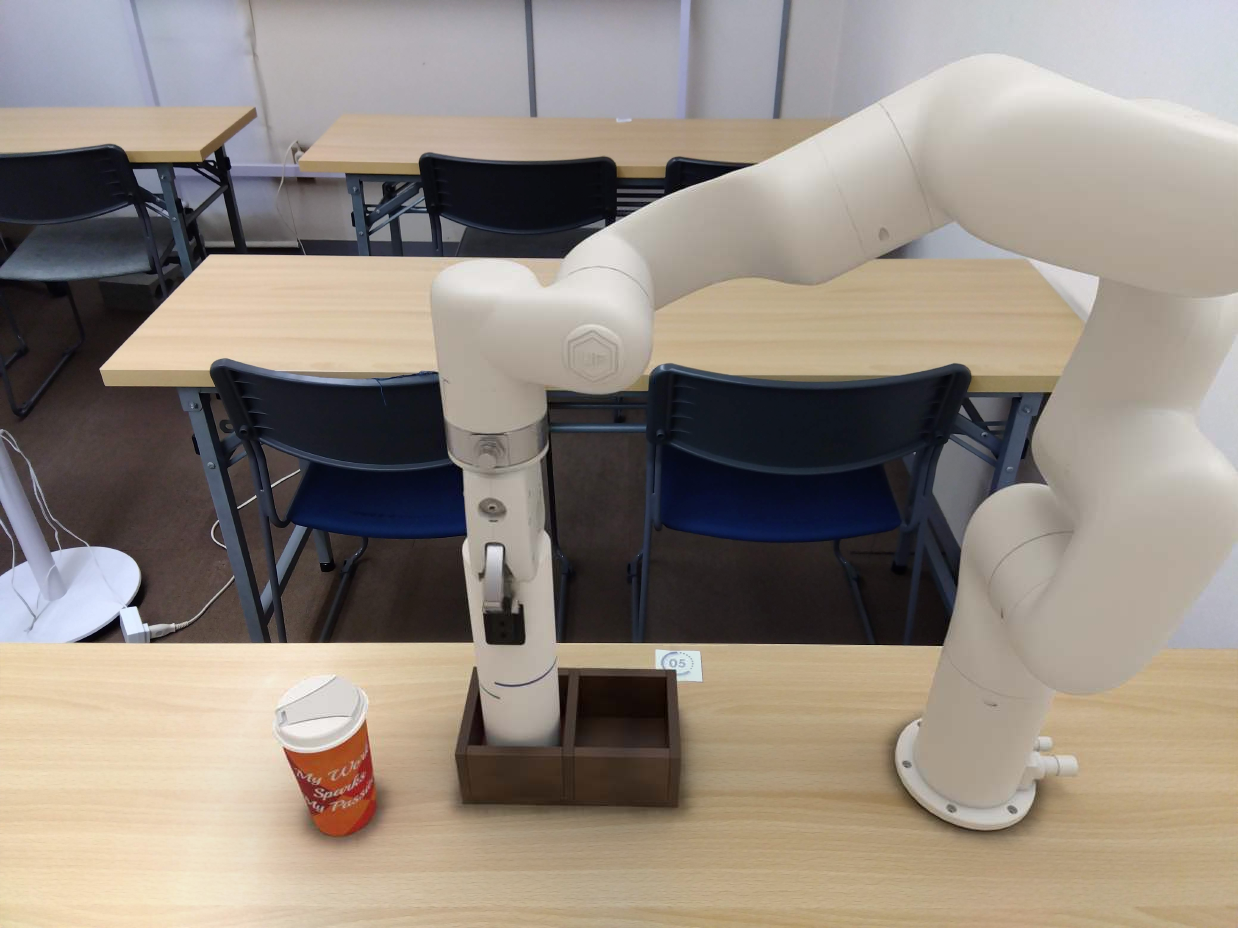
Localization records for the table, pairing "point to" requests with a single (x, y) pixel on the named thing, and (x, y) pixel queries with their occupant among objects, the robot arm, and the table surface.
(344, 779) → the paper cup
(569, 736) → the wooden compartment box
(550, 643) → the cylindrical container
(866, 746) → the table surface
